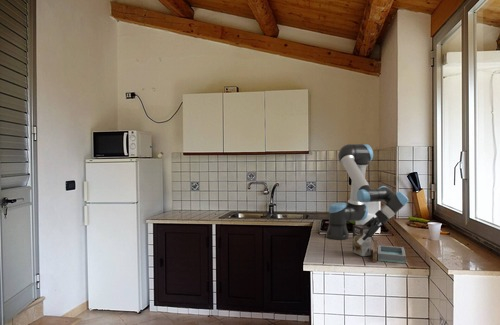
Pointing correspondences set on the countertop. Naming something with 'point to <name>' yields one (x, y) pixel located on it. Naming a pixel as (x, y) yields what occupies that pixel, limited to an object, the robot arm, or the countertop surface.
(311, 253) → the countertop surface
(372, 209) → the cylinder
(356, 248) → the coffee box
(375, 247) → the board
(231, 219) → the countertop surface
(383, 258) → the tray
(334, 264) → the countertop surface
